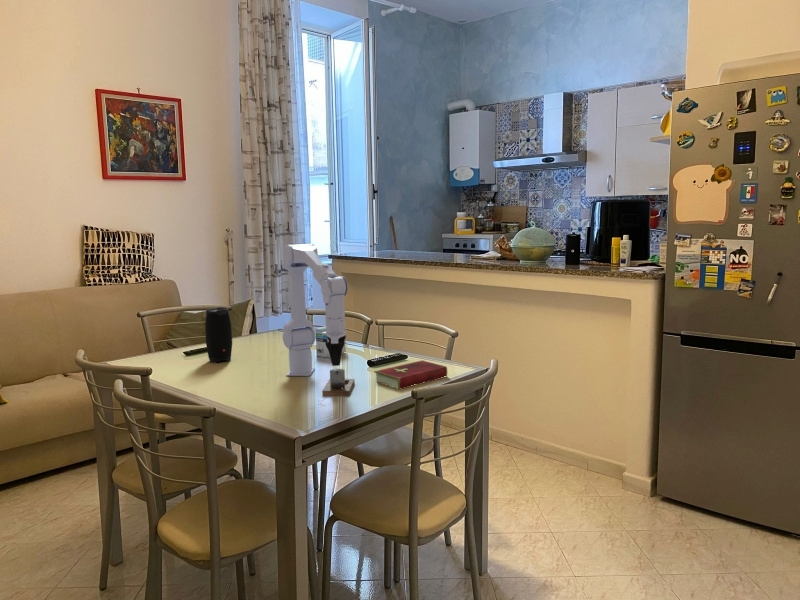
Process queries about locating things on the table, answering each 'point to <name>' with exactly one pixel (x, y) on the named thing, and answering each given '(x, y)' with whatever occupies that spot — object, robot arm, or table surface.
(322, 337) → the light bulb box
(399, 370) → the hardcover book
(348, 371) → the table surface
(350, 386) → the keyhole plate
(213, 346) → the portable speaker
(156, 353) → the table surface
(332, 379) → the peg
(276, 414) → the table surface
